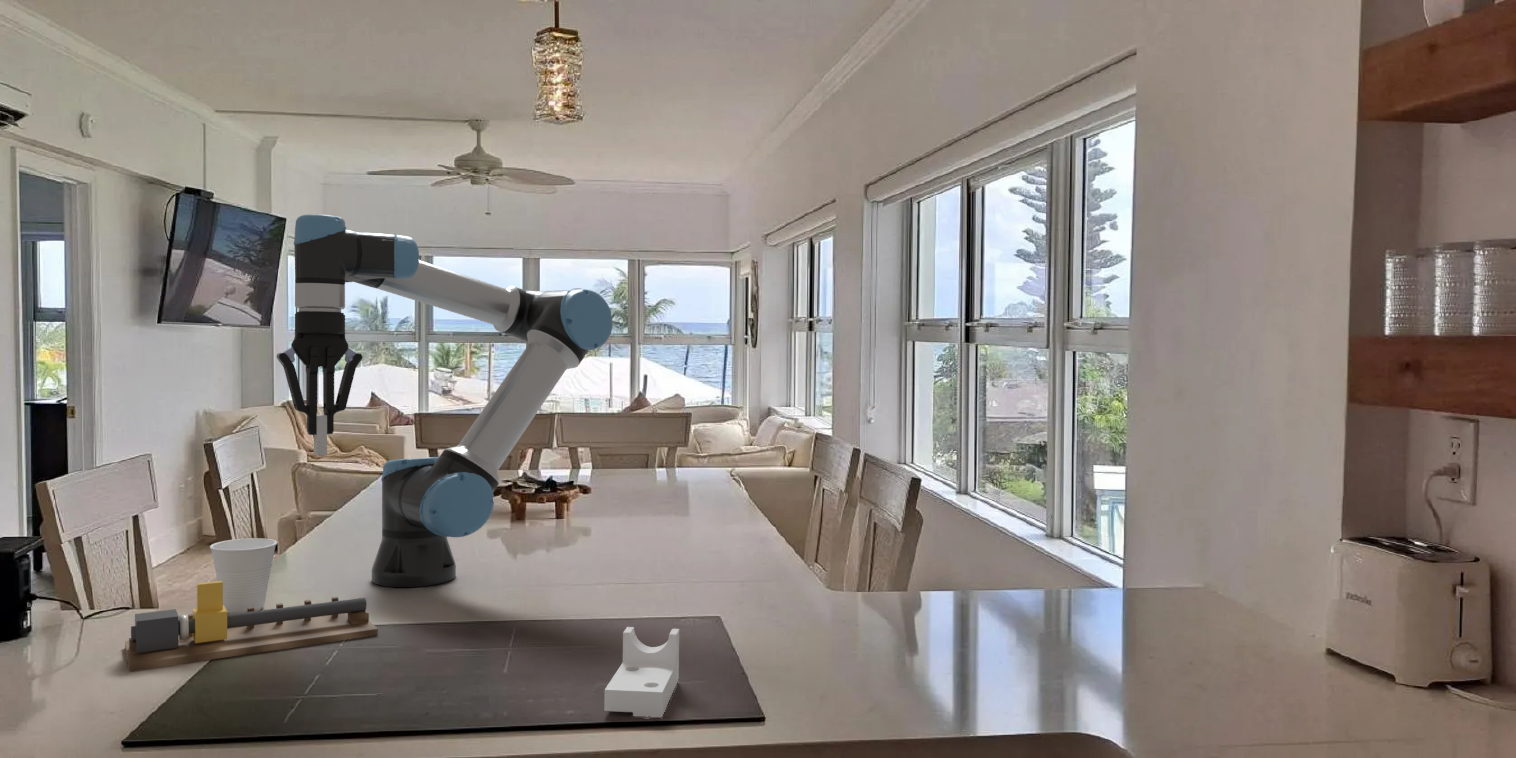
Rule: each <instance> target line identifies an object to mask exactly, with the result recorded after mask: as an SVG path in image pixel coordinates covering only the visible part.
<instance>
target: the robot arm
mask: <svg viewBox="0 0 1516 758" xmlns="http://www.w3.org/2000/svg"><path fill="white" fill-rule="evenodd" d="M293 246H294V307H295V308H296V309H298V311H296V312H295V313H294V337H293V340H292V342H291V347H289V348H287V349H286V350H284V351H283V352H279V353H277V355H276V359H277V361H278V362H279V363H280V364H281V365H282V367H283V369H284V374H285V378H286V382H287V387H288V389H289V391H290V392H289V393H290V396H291V397H290V398H291V400H292V404H293V408H294V410H295V411H297V412H301V413H303V414H305V415H306V432H307V434H308V435H310V436H313V455H315V456H317V457H318V456H327V455H328V435H333V434H334V429H335V426H334V425H335V423H334V418H335V414H336V413H339V412H343V411H345V410H346V408H347V405H348V400H349V397H350V393H351V388H352V384H353V381H354V376H355V374H356V373H355V372H356V369H357V367H358V365H359V364H360V363H361V361H362V359H363V355H362V354H361V353H359V352H356V351H354V350H352V349H351V348H349V344H348V342H347V339H346V315H345V313H344V312H342V310H345V308H346V283H352V282H353V283H356V284H359V285H363V286H366V287H370V288H373V289H376V290H380V291H384V292H387V293H391V294H393V295H397V296H400V297H402V298H403V297H404V298H406V299H410V300H413V301H416V302H419V303H421V304H422V303H423V304H425V305H429V306H433V307H436V308H438V309H442V310H445V311H448V312H451V313H455V314H458V315H462V316H464V317H467V318H470V319H474V320H477V321H480V322H484V323H487V324H491V325H493V327H494V329H495V331H497V332H499V333H503V334H505V335H508V336H512V337H514V338H517V339H520V340H523V341H525V342H528V344H527V347H526V348H525V349H524V351H523V352H522V354H520V356H519V358H517V361H516V362H515V363H514V365H513V367H511V369H510V371H509V372H508V373H507V374H506V376H505V378H504V379H503V381H502V382H501V383H500V384H499V386H498V387H497V389H496V391H495V392H494V393H493V394H492V396H491V397H490V399H489V401H488V402H487V404H486V405H485V406H484V408H483V409H482V410H481V411H480V414H479V415H477V417H476V418H475V420H474V421H473V423H472V424H471V426H470V427H469V429H468V430H467V432H466V433H465V434H464V436H463V438H462V439H461V440H460V442H459V443H458V445H455V446H452V447H447V448H445V449H444V450H443V451H442V453H441V454H440V455H439V456H434V457H433V456H432V457H430V456H429V457H418V458H415V457H414V458H404V459H401V458H400V459H390V460H388V461H386V462H385V463H384V464H383V468H382V477H381V484H382V485H381V486H382V487H381V497H382V498H381V516H382V517H381V528H382V529H381V542H380V544H379V547H378V549H377V553H376V556H375V559H374V562H373V565H372V567H371V582H372V583H373V584H375V585H378V586H382V587H392V588H394V587H395V588H412V587H413V588H416V587H417V588H418V587H427V586H432V585H438V584H443V583H446V582H449V581H451V580H452V581H453V579H454V578H456V577H457V574H456V573H457V571H456V570H457V569H456V568H457V564H456V561H455V559H454V556H453V552H452V549H451V545H450V543H449V540H448V537H449V538H464V537H466V536H469V535H472V534H474V533H475V532H478V531H479V530H480V529H481V528H482V527H484V526H485V524H486V523H487V521H488V520H489V519H490V517H491V516H492V513H493V510H494V505H495V503H494V502H495V501H494V498H495V496H494V492H495V491H496V489H497V488H498V486H499V485H500V478H499V474H498V472H499V470H500V468H501V467H502V465H503V464H504V462H505V461H506V459H507V458H508V456H509V455H510V453H511V451H512V450H513V449H514V447H515V446H516V445H517V443H518V441H519V440H520V439H521V437H522V435H523V434H524V433H525V431H526V430H527V428H528V427H529V425H530V424H531V422H532V421H533V419H534V418H535V416H536V415H537V414H538V412H539V410H540V409H541V408H542V406H543V405H544V403H545V401H546V400H547V398H548V397H549V396H550V394H551V393H552V391H553V390H554V389H555V386H556V385H557V384H558V382H559V381H560V379H561V378H562V376H563V375H564V373H565V372H566V371H567V370H569V369H574V368H575V369H576V368H578V367H579V366H580V364H581V362H582V361H583V359H584V358H585V356H586V355H587V354H588V352H589V351H593V350H596V349H598V348H600V347H602V346H604V345H605V343H606V342H608V340H609V339H610V337H611V333H612V330H613V318H612V311H611V309H610V306H609V304H608V302H607V301H606V300H605V298H604V297H602V295H601V294H599V292H598V293H597V292H596V291H594V290H591V289H585V288H584V289H583V288H579V287H576V288H571V289H569V290H567V289H566V290H565V289H563V290H559V289H558V290H530V289H528V290H527V289H522V288H520V287H517V286H514V285H509V286H507V287H505V288H503V287H500V286H497V285H494V284H492V283H488V282H486V281H483V280H480V279H477V278H474V277H471V276H467V275H465V274H462V273H459V272H456V271H453V270H449V269H446V268H444V267H441V266H439V265H436V264H432V263H429V262H427V261H423V260H420V252H419V246H418V244H417V242H416V241H415V239H414V238H413V237H410V236H407V235H400V234H397V233H393V234H390V233H377V232H363V231H355V230H350V229H347V227H346V221H345V219H344V218H342V217H341V216H338V215H337V216H335V215H328V214H319V213H318V214H315V213H313V214H304V215H300V216H298V218H297V219H296V221H295V227H294V241H293ZM295 355H296V356H297V358H298V359H299V360H300V361H301V363H302V364H303V365H304V366H305V374H306V375H305V378H306V379H305V381H306V382H305V383H306V384H305V385H306V387H305V388H306V390H305V393H306V394H305V395H306V396H305V398H306V400H304V397H303V393H302V389H301V385H300V383H299V377H298V375H297V370H296V367H295V365H294V362H295V361H296V358H295V357H296V356H295ZM344 355H345V357H344ZM343 357H344V361H345V365H344V368H343V372H342V375H341V376H342V377H341V379H340V384H339V388H338V390H337V391H338V393H337V395H336V396H337V397H336V398H335V373H336V372H335V371H336V368H335V367H336V366H337V364H338V363H339V362H340V360H341V359H342V358H343ZM319 368H322V370H321V371H322V394H323V395H322V399H323V401H322V402H323V403H322V404H323V405H322V408H323V409H322V411H323V414H318V374H319ZM335 399H336V400H335ZM305 401H306V402H305ZM305 403H306V404H305Z"/></svg>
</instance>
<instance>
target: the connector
mask: <svg viewBox="0 0 1516 758" xmlns="http://www.w3.org/2000/svg"><path fill="white" fill-rule="evenodd" d="M188 615H189V614H183V615H182V614H181V615H179V614H178V611H177V609H175V608H173V609H166V610H158V611H150V612H149V611H148V612H141V613H135V614H134V626H136V653H141V652H148V651H155V650H163V649H170V648H177V647H178V631H179V621H180V635H179V639H180V640H183V639H188V637H189V620H188Z"/></svg>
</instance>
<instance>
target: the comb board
mask: <svg viewBox="0 0 1516 758" xmlns="http://www.w3.org/2000/svg"><path fill="white" fill-rule="evenodd" d="M334 601H339V597H338V596H332V597H331V602H334ZM310 604H312V600H311V599H307V600H304V603H303V605H310ZM275 605H276V608H275V609H277V608H284V604H283V603H282V602H280V603H276V604H275ZM253 611H254V607H247V612H253ZM369 614H370V613H369V611H368V610H367V609H366V610H365V611H359V612H351V613H343V614H336V615H328V616H320V617H313V618H305V619H297V620H290V621H282V622H274V623H267V624H259V625H251V626H244V627H236V628H228V629H227V639H223V640H215V641H208V642H201V643H195V641H194V639H193V633H190V634H189V637H188V639H183V640H180V639H179V635H178V647H177V648H170V649H163V650H155V651H148V652H141V653H136V641H131V637H130V638H128V640H125V642H124V649H125V654H126V662H127V667H128V672H134V671H142V670H147V669H148V670H149V669H155V668H162V667H168V666H169V667H170V666H176V665H181V664H183V665H184V664H189V663H190V664H191V663H197V662H202V661H203V662H204V661H211V660H217V659H222V658H230V657H238V656H244V655H250V654H257V653H265V652H273V651H279V650H286V649H291V648H299V647H307V646H313V645H319V644H320V645H321V644H327V643H333V642H340V641H347V639H348V640H352V639H351V638H355V639H362V638H367V637H368V636H369V637H374V636H373V635H376V636H379V633H378V631H379V630H378V627H377V626H376V625H374V623H372V622H371V620H370V619H369V618H370V617H369ZM187 615H188V619H193V613H189V614H187ZM369 637H368V638H369Z"/></svg>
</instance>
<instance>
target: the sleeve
mask: <svg viewBox="0 0 1516 758" xmlns="http://www.w3.org/2000/svg"><path fill="white" fill-rule="evenodd" d="M192 614H193V619H195V633H193V639H194V641H195V643H201V642H208V641H215V640H223V639H227V615H228V613H227V610H226V608H225V606H224V605H223V581H217V580H216V581H208V582H198V583H196V608H192Z"/></svg>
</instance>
